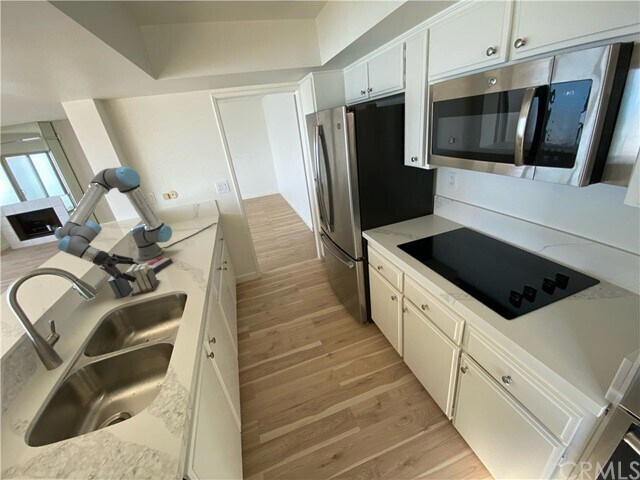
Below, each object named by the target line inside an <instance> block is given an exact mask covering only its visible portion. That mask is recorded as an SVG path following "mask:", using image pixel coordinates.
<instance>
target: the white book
mask: <svg viewBox="0 0 640 480" xmlns="http://www.w3.org/2000/svg"><path fill="white" fill-rule="evenodd" d="M130 265H131V264H130ZM136 267H137V264H133V265H131V266H130V267H128V269H127V270H126V272H125V273H126V274H128V275H131V276H133V277H136V276H135V274H134V271H133V270H134V269H135V268H136ZM129 283H130V285H131V287H132V289H134V290H135V292H140V291H141V287H140V284H139V282H138V280H137V278H136V280H135V281H134V282H131V281H129ZM134 290H133V291H134Z"/></svg>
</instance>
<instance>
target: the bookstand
mask: <svg viewBox="0 0 640 480" xmlns="http://www.w3.org/2000/svg"><path fill="white" fill-rule="evenodd" d="M148 263H149V262H146V263H145V262H144V263H143V264H142V263H139V264H140V265H137V267H136V268H135V269H134V270H133V271H134V274H135V276H136V278H137V280H138V282H139V284H140V287H141V291H140V292H135V290H133V291H132V292H131V296H132V297H135V296H138V295H139V296H140V295H143V294H148V293H152V292H155V290H156V288H157V286H158V285H159V283H160V279H157V276H156V274H154V271H153V269H152V268H150V267H149V265H148Z"/></svg>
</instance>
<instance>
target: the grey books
mask: <svg viewBox="0 0 640 480" xmlns="http://www.w3.org/2000/svg"><path fill="white" fill-rule="evenodd" d="M121 273H122V274H123V273H124V272H121ZM115 276H116V275H115ZM107 282H108V284H109V286H110V288H111V290H112V291H113V293H114V296H115V297H116V299H119V298H123V297H127V296H129V295H130V293H131V292H132V290H133V286H132V284H131V282H130V281H128V280H125V279H123V278H119V279H115V278H113V277H112V276H111V277H110V278H109V279H108V280H107Z"/></svg>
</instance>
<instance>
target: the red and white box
mask: <svg viewBox="0 0 640 480" xmlns="http://www.w3.org/2000/svg"><path fill="white" fill-rule="evenodd" d="M147 263H148V265H149V267H150V268H152V269H153V271H154V274H155V275H156V274H157V273H159V272H160V271H161V270H162V269H164V268H166V267H168V266H169V265H171V264H173V259H172V258H170V257H156V258H154V260H152V261H149V262H147Z"/></svg>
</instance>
